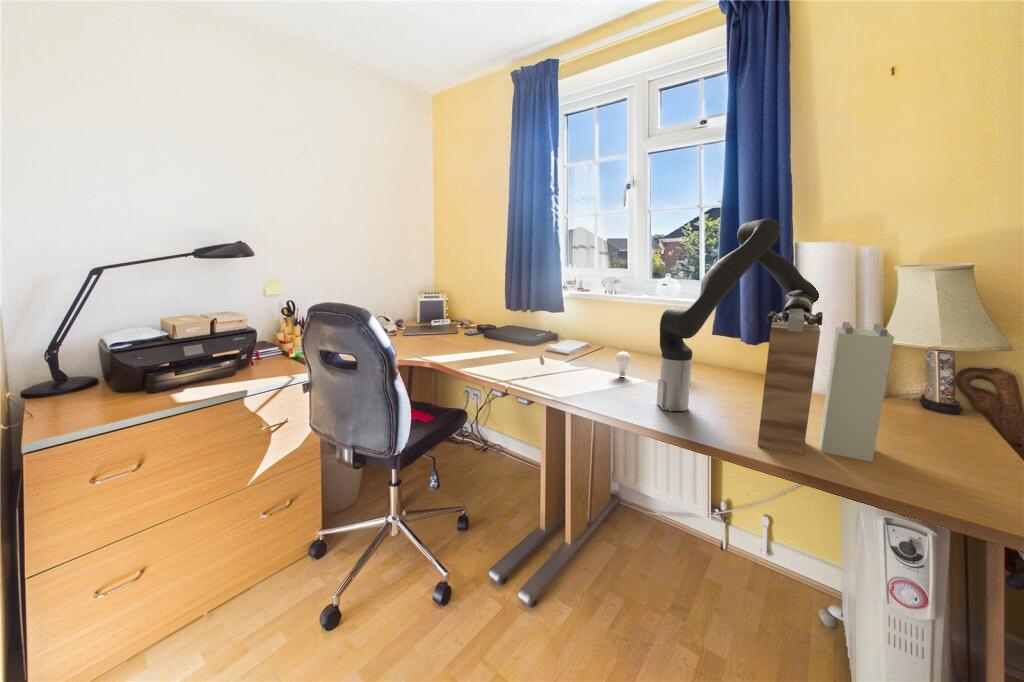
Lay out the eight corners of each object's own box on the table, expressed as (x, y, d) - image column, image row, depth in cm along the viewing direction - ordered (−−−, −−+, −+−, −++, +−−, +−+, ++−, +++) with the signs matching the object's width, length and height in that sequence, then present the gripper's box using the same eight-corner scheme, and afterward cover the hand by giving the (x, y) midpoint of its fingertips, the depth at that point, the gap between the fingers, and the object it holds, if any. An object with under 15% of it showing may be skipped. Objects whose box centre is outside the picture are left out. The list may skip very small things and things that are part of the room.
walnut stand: (803, 455, 105) (820, 330, 99) (757, 446, 111) (771, 327, 104) (802, 441, 113) (818, 324, 107) (759, 432, 119) (772, 321, 112)
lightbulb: (617, 374, 178) (618, 349, 176) (632, 376, 175) (633, 351, 173) (612, 378, 173) (612, 352, 171) (626, 380, 170) (628, 354, 168)
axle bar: (802, 332, 97) (804, 319, 97) (787, 330, 99) (789, 318, 98) (801, 319, 115) (802, 309, 115) (788, 319, 117) (789, 308, 116)
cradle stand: (872, 461, 102) (895, 330, 95) (821, 451, 107) (840, 327, 101) (866, 446, 110) (887, 324, 103) (819, 437, 115) (836, 321, 109)
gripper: (772, 299, 141) (764, 312, 129) (825, 299, 132) (822, 313, 120) (772, 320, 143) (764, 335, 131) (823, 321, 134) (820, 338, 123)
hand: (791, 324), depth 126 cm, fingers open, 8 cm apart
